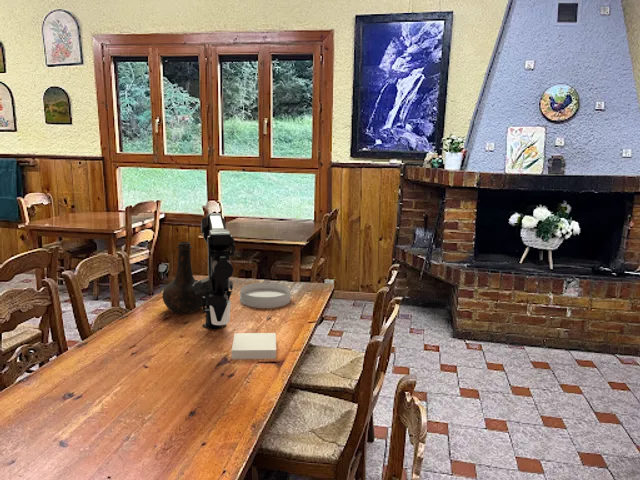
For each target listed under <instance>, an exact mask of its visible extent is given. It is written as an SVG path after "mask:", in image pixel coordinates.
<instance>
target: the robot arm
mask: <svg viewBox="0 0 640 480" xmlns="http://www.w3.org/2000/svg"><path fill="white" fill-rule="evenodd" d="M200 233H201V234H202V238H203V240H204V242H205V243H206V244H207V245H206V246H207V274H208V275H207V276H208V277H206V278H202V279H198V281H196V282H194V284H193V285H192V286H193V291H195V294H196V295H197V294H200V293H201V292H204V291H205V292H204V295H205V297H203V301H202V308H201V309H202V312H203V313H202V314H205V323H203V324H202V326H203V327H204V328H207V329H209V330H211V331H215V330H218V329H222V328H224V327H227V324H225V325H214V324H212V322H211V314H210V306H212V307H213V308H214V311H215V315H216V319H217V321H221V319H222V317H223V314H224V312H225V309H226V306H227V304H228V300H230V298H231V296H232V293H233V292H232V291H233V289H234V283H233V281H232V280H230V278H231V277H232V275H233V273H234V267H233V265H232V262H231V260H230V257H234V256H235V253H236V245H235V239H234V236H233V235H231V232H230V231H229V230H228V229H227V228H226V219H225V218H224V217H223V214H222V213H220V212H218V213H217V212H215V213H214V212H213V213H207V214H206V217H203V218H202V219H201V222H200Z"/></svg>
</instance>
